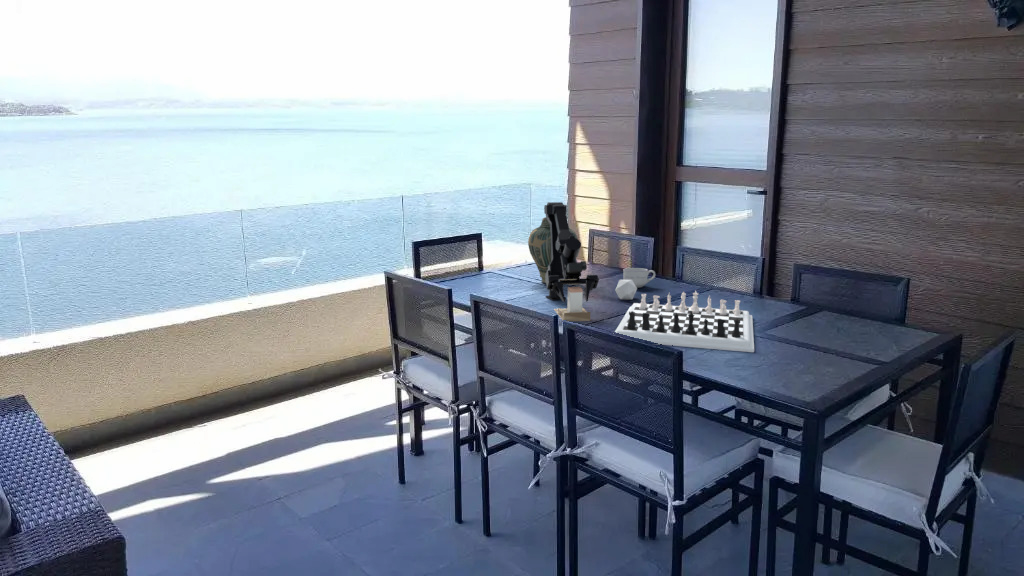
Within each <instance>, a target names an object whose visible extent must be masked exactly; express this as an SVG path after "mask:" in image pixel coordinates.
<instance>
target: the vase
mask: <svg viewBox="0 0 1024 576" xmlns="http://www.w3.org/2000/svg"><path fill="white" fill-rule="evenodd" d="M569 230H570V232H571V233H572V234H573V235H574V237H575V238H576V239H578V240H579V238H578V235H577V233H576V232H575V230H574V229H572V228H570V227H569ZM527 242H528V243H527V245H528V249H529V254H530V256H531V257H532V259H533V261H534V263H535V265H536V268H537V270H538V272H539V277H540V279H541V282H542V283H545V276H546V272H547V270H548V265H549V264H550V262H551V233H550V223H549V222H548V220H547V219H546V216H544V217H543V218H542V219H541V223H540V225H539V226H538V227H535V228H534V229H532V230H531V232H530V234H529V236H528V240H527ZM562 254H563V253H562ZM545 284H546V283H545Z"/></svg>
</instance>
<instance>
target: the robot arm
mask: <svg viewBox="0 0 1024 576" xmlns="http://www.w3.org/2000/svg"><path fill="white" fill-rule="evenodd" d="M546 203H547V204H545V205H544V207H543V208H544V209H543V211H544V214H545V217H546V219H547V220H548V222H549V223H550V233H551V262H550V264H549V265H548V270H547V272H546V276H545V284H546V289H547V290H548V295H545V298H547V299H549V300H551V301H560V300H561V301H562V303H566V299H567V297H566V296H565V292H564V285H569V286H570V285H585V286H584V288H583V289H584V290H583V291H584V297H585V302H586V303H588V301H589V297H590V291H592V290H593V289H596V288H597V286H598V283H599V281H600V277H599V276H598V274H587V275H586V278H580V277H582V272H583V271H586V270H587V268H588V266H587V265H588V264H587V262H586V261H584V260H583V261H582V260H581V261H580V262H577V261H578V260H577V258H578V256H579V253H580V250H581V246H582V242H581V241H580V240H579V238H578V239H576V238H575V237H574V235H573V234H572V233H571V232H570V230H569V228H570V226H569V223H568V222H569V221H568V217H567V214H568V208H567V207H568V205H567V204H564V202H562V201H561V202H559V201H553V202H551V201H550V202H549V201H548V202H546ZM562 253H563V254H562Z"/></svg>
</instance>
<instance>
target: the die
mask: <svg viewBox="0 0 1024 576" xmlns="http://www.w3.org/2000/svg"><path fill="white" fill-rule="evenodd" d="M637 290H638V288H637V287H636V286H635V284H634V282H633V281H632V280H623V279H618V282H617V286H616V288H615V290H614V291H615V292H616V295H617V296H618V299H619V300H633V299H634V297H635V295H636V293H637Z"/></svg>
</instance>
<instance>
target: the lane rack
mask: <svg viewBox="0 0 1024 576" xmlns="http://www.w3.org/2000/svg"><path fill="white" fill-rule="evenodd" d="M553 310H554V311H555V313H556V314H557V315H558V316H559V318H561V320H562V321H563V320H567V321H566V322H586V321H588V322H589V321H590V322H591V321H592V320H591V311H587V310H586V309H585V308H584V307H582V312H568V313H567V308H561V307H560V308H559V307H558V308H553Z"/></svg>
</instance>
